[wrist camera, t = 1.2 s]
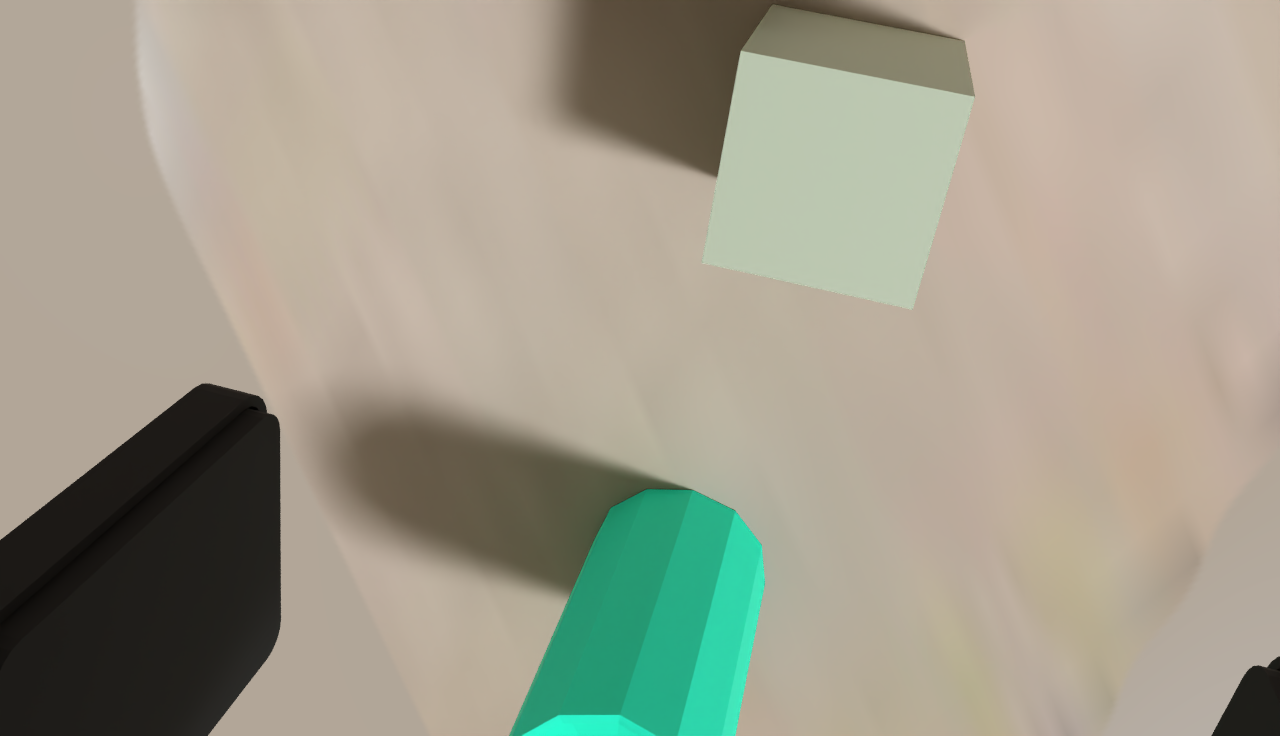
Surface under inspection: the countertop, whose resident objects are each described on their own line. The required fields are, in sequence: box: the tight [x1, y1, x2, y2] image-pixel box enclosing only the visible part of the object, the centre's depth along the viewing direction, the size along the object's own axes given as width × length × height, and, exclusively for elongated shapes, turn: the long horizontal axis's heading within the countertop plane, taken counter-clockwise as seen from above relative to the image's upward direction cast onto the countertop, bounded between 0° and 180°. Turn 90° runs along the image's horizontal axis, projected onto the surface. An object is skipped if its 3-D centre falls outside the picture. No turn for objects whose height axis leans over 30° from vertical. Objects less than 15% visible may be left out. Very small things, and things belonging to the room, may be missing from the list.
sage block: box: [702, 4, 975, 310], centre depth 27 cm, size 5×5×6 cm
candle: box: [509, 489, 765, 736], centre depth 33 cm, size 6×6×12 cm
